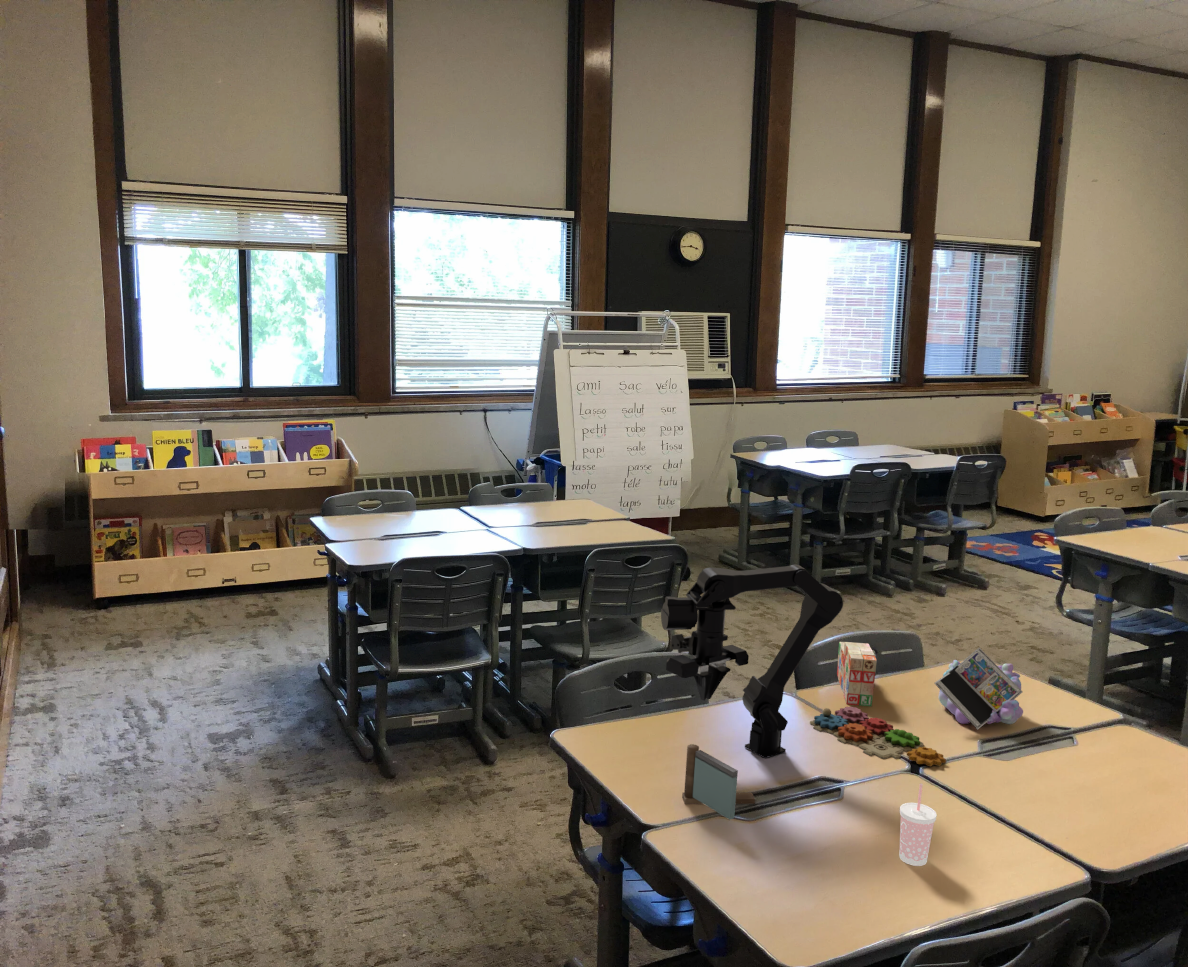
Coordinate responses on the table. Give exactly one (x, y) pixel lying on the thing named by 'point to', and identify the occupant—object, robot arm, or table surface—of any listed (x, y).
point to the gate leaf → (715, 784)
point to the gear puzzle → (874, 736)
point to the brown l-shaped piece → (689, 781)
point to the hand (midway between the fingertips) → (705, 699)
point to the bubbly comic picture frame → (980, 691)
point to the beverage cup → (916, 831)
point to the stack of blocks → (856, 672)
